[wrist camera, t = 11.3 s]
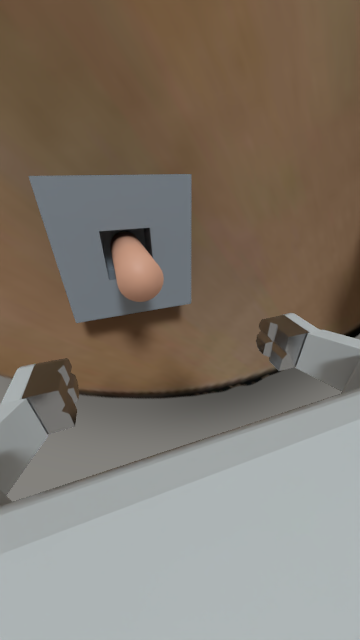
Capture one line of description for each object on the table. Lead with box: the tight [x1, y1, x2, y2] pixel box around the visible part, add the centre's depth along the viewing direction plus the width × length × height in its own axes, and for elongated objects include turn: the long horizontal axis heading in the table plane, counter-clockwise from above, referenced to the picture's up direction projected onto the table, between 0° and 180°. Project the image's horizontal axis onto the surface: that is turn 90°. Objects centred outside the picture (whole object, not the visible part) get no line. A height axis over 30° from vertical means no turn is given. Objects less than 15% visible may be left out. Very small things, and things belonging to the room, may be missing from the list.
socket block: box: [29, 174, 191, 323], centre depth 25 cm, size 14×14×5 cm
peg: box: [110, 231, 164, 302], centre depth 21 cm, size 4×4×12 cm
